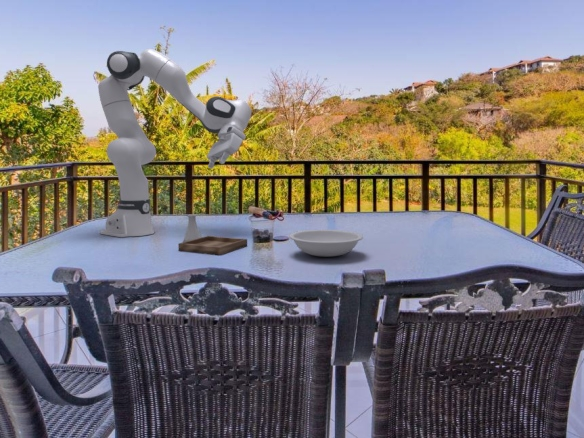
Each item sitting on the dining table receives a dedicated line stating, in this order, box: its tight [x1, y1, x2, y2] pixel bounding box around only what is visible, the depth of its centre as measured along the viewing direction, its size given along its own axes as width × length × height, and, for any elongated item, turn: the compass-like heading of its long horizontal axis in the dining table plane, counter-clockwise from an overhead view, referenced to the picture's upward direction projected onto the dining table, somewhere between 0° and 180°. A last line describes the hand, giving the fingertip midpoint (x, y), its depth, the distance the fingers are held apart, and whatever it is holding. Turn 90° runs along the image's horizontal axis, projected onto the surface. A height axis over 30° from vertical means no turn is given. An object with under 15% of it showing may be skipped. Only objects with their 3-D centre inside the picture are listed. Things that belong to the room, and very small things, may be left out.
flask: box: [182, 214, 202, 243], centre depth 183 cm, size 7×7×10 cm
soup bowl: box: [288, 229, 364, 258], centre depth 157 cm, size 24×24×7 cm
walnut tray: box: [178, 235, 248, 256], centre depth 169 cm, size 17×17×2 cm
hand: (215, 165), depth 189 cm, fingers open, 8 cm apart
